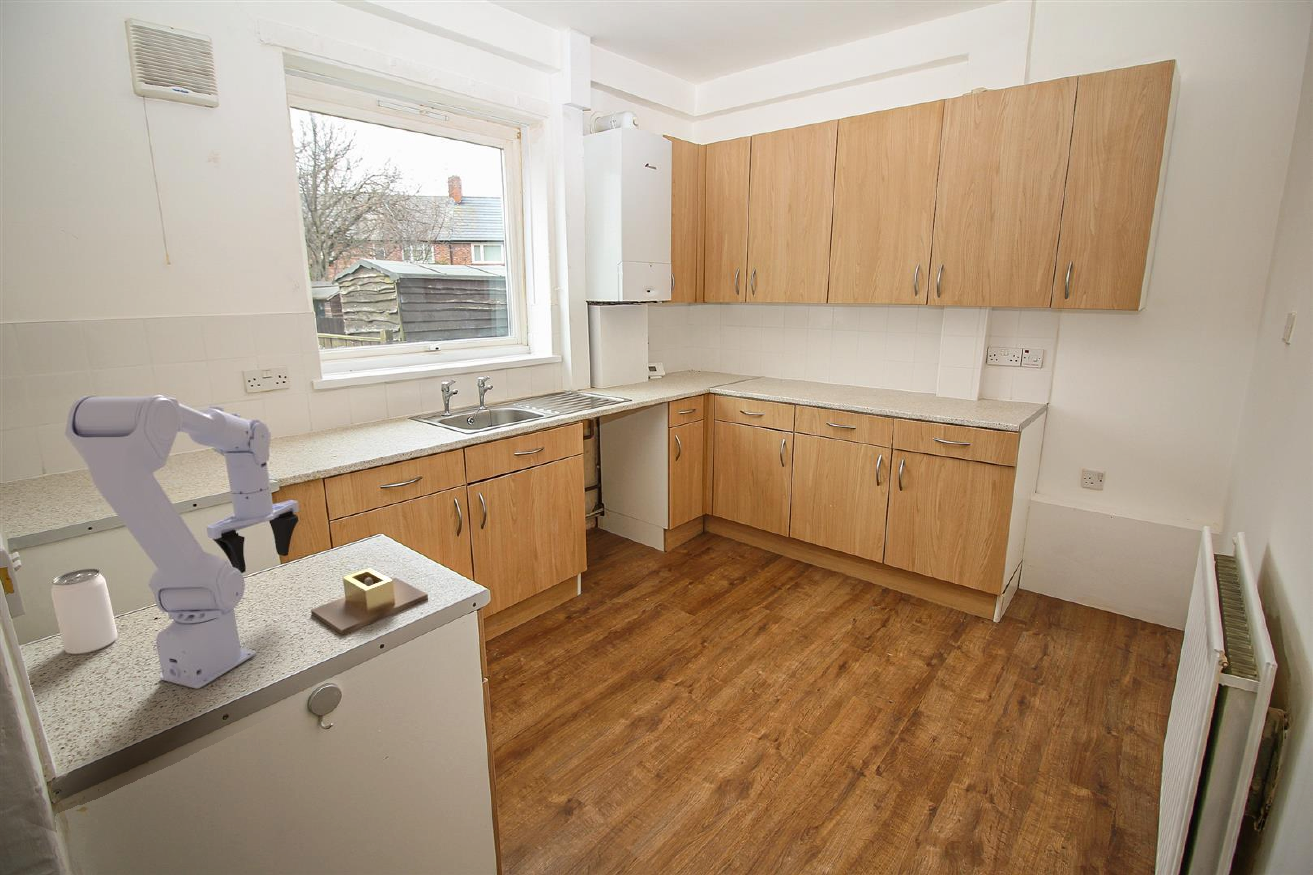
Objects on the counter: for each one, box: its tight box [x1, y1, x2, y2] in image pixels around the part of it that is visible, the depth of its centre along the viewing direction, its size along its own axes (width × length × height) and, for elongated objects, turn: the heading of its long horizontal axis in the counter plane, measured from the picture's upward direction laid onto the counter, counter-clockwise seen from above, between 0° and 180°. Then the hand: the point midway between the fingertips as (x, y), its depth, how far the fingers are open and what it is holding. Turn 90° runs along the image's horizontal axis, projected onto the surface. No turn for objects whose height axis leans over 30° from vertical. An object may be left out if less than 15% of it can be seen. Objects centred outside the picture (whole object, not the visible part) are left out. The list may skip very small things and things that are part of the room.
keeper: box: [310, 577, 429, 636], centre depth 113 cm, size 16×11×6 cm
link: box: [342, 567, 395, 614], centre depth 113 cm, size 8×5×4 cm, turn 52°
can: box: [50, 568, 118, 656], centre depth 100 cm, size 6×6×12 cm
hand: (262, 562), depth 110 cm, fingers open, 7 cm apart
